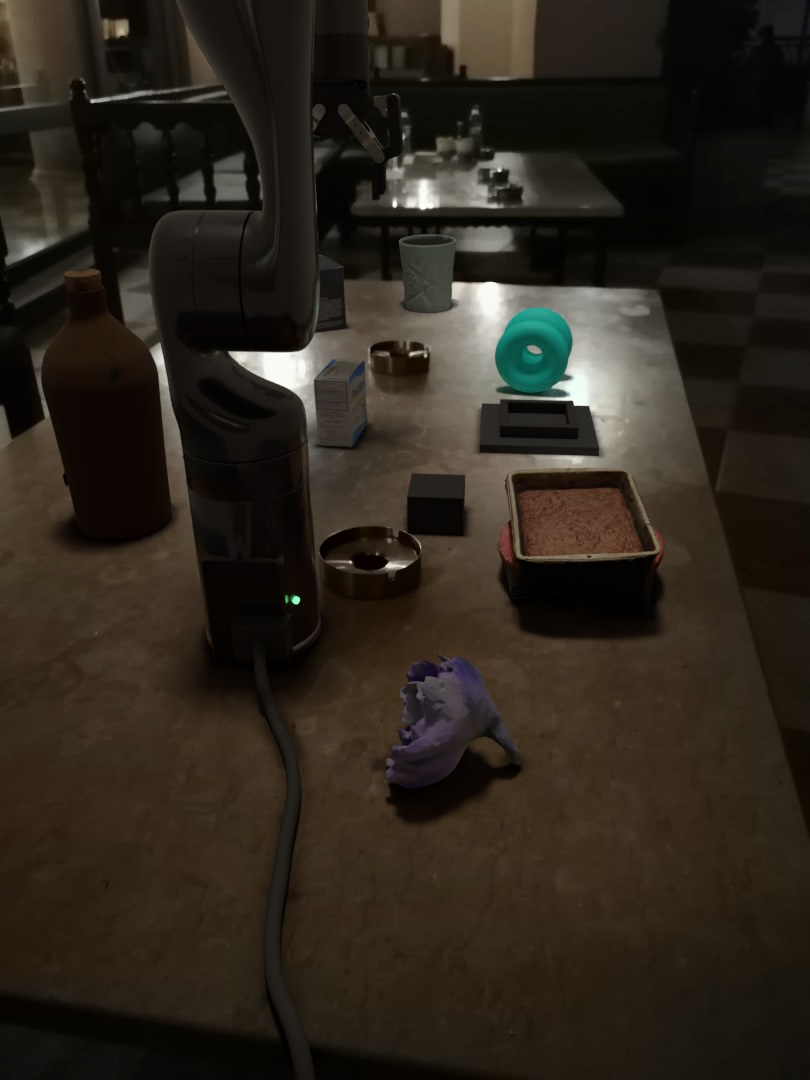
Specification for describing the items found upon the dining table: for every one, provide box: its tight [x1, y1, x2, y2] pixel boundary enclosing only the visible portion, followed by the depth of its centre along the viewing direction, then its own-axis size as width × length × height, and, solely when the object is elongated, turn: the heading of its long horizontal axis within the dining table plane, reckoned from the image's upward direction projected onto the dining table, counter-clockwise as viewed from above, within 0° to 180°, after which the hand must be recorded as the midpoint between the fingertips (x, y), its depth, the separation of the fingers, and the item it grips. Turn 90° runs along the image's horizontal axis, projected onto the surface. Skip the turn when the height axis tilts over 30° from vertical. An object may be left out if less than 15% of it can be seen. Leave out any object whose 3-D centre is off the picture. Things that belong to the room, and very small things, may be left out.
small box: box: [315, 254, 348, 333], centre depth 156 cm, size 11×6×10 cm, turn 25°
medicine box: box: [313, 358, 368, 448], centre depth 111 cm, size 8×4×9 cm, turn 168°
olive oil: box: [40, 268, 173, 541], centre depth 87 cm, size 11×11×25 cm
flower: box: [384, 652, 522, 790], centre depth 60 cm, size 9×9×10 cm
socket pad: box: [478, 398, 600, 456], centre depth 113 cm, size 14×14×2 cm
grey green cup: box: [398, 233, 457, 313], centre depth 164 cm, size 10×10×12 cm
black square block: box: [406, 472, 466, 535], centre depth 91 cm, size 6×6×4 cm
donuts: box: [494, 306, 574, 394], centre depth 127 cm, size 10×10×10 cm
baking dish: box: [497, 467, 665, 617], centre depth 81 cm, size 14×18×10 cm
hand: (338, 199), depth 99 cm, fingers open, 8 cm apart
